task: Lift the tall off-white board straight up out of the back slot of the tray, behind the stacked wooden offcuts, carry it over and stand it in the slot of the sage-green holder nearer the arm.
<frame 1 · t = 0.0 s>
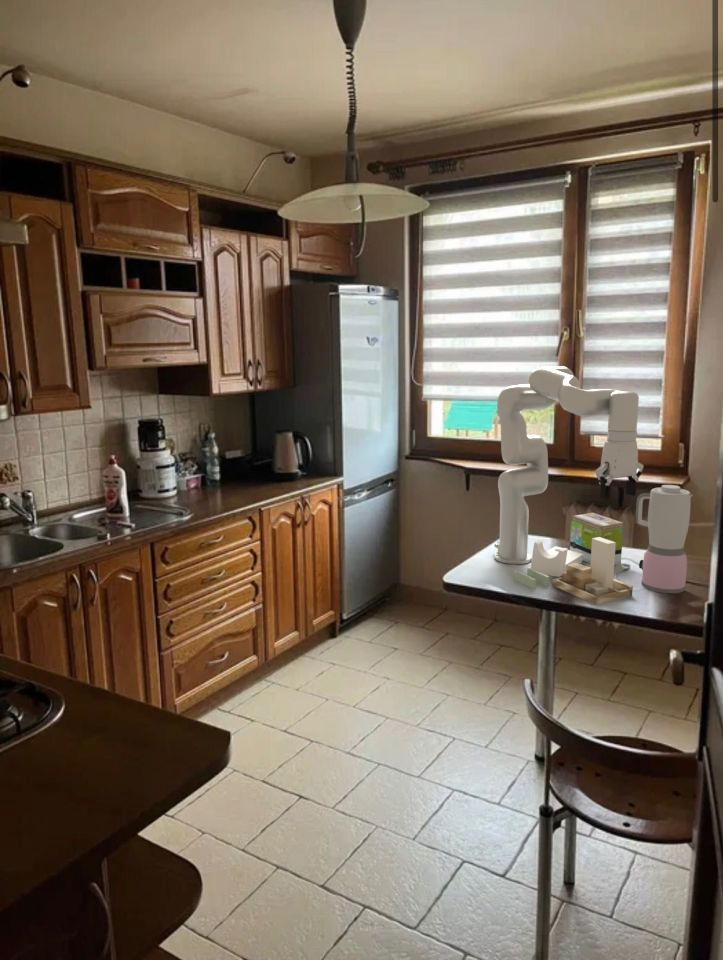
hand: (617, 496, 200), 31 cm above the table, tool pointing down, fingers open, 9 cm apart
offcut b: (578, 576, 213), point 5 cm above the table, touching offcut a
white saddle block: (555, 571, 234), on the table
holder: (531, 586, 220), on the table
tray: (591, 594, 212), on the table
offcut c: (596, 597, 206), point 1 cm above the table, touching tray
tea box: (594, 560, 244), on the table
tall board: (600, 588, 214), point 1 cm above the table, touching tray
offcut a: (578, 588, 214), point 1 cm above the table, touching offcut b, tray
blender: (657, 589, 216), on the table
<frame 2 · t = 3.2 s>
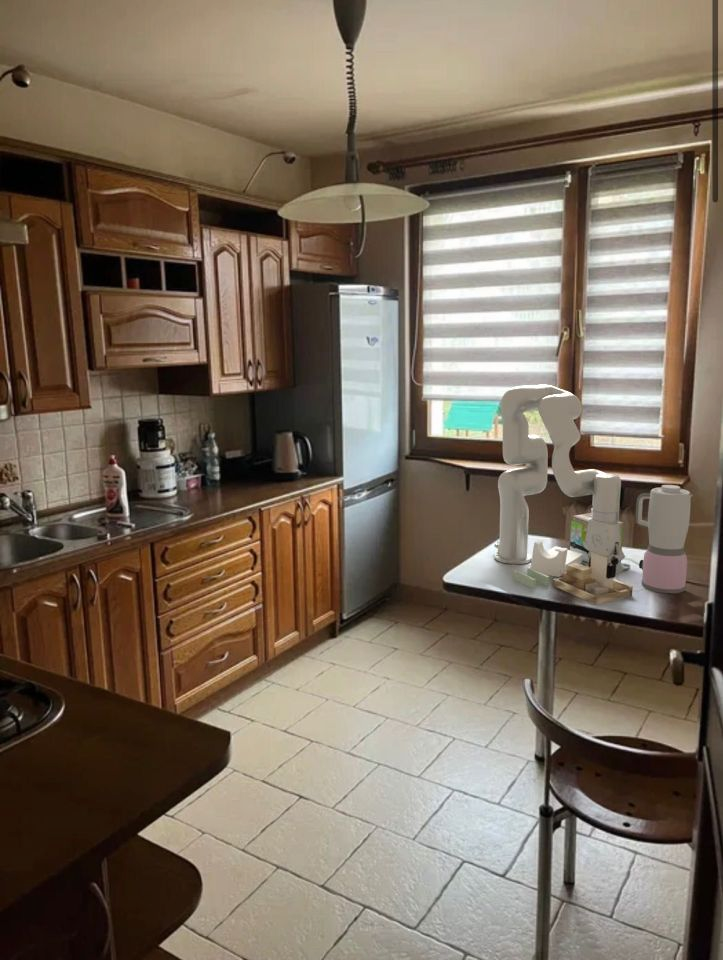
hand: (601, 573, 213), 6 cm above the table, tool pointing down, fingers closed on tall board, 6 cm apart
tall board: (600, 588, 214), point 1 cm above the table, touching gripper, tray
everything else where it was.
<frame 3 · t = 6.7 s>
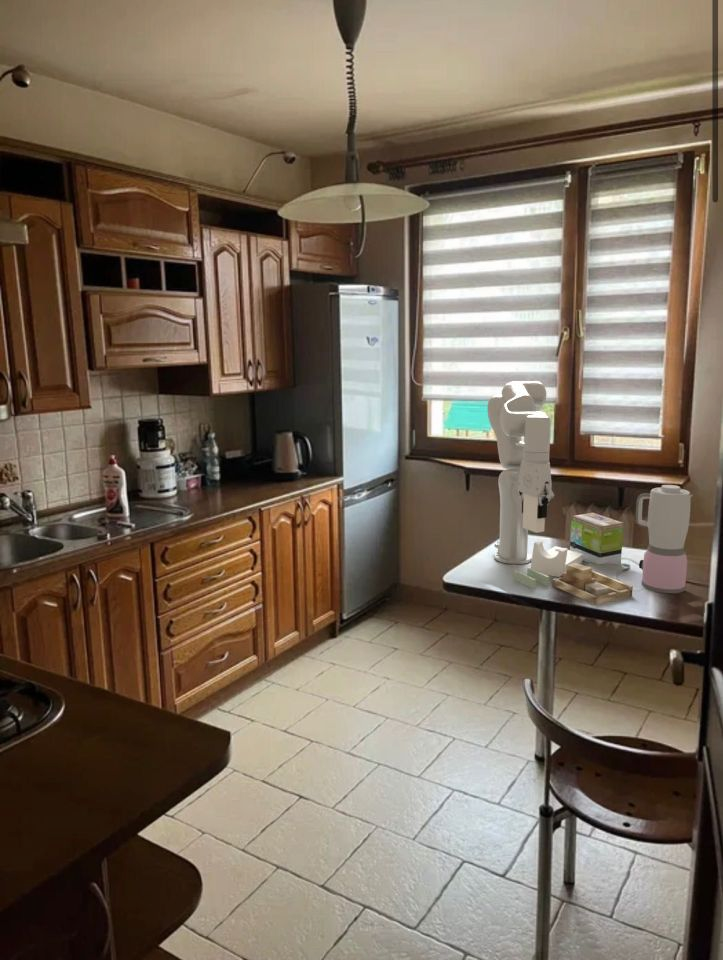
hand: (534, 514, 215), 23 cm above the table, tool pointing down, fingers closed on tall board, 6 cm apart
tall board: (533, 529, 216), point 18 cm above the table, touching gripper
everything else where it was.
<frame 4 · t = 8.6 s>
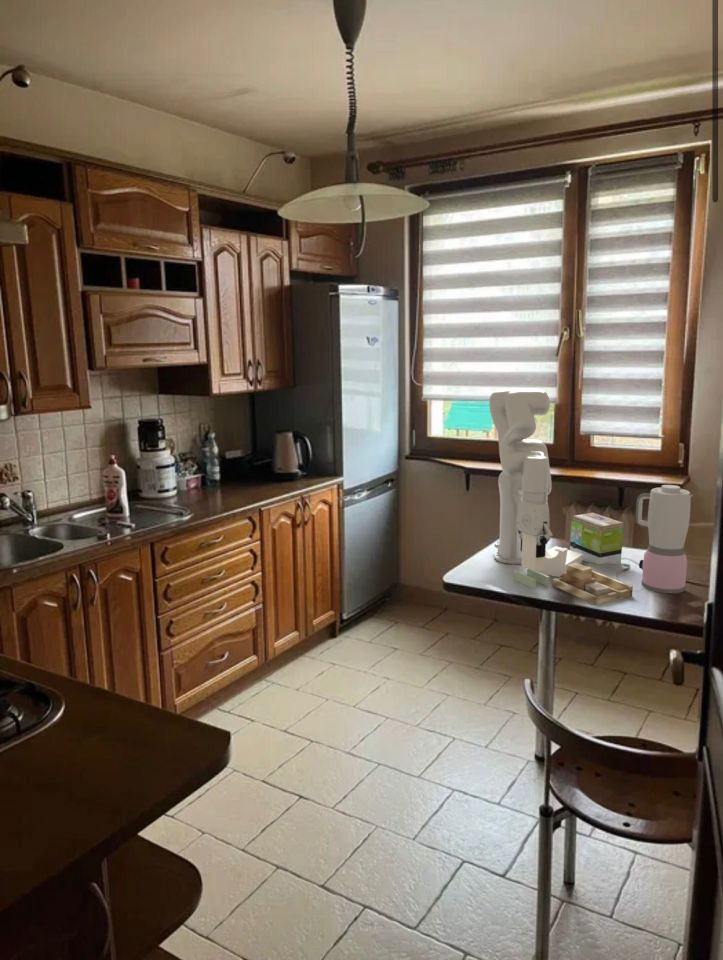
hand: (532, 553, 217), 11 cm above the table, tool pointing down, fingers closed on tall board, 6 cm apart
tall board: (532, 568, 218), point 6 cm above the table, touching gripper
everything else where it was.
when the fingers open (7 cm above the table, at t = 10.3 s): tall board drops 1 cm, resting on holder.
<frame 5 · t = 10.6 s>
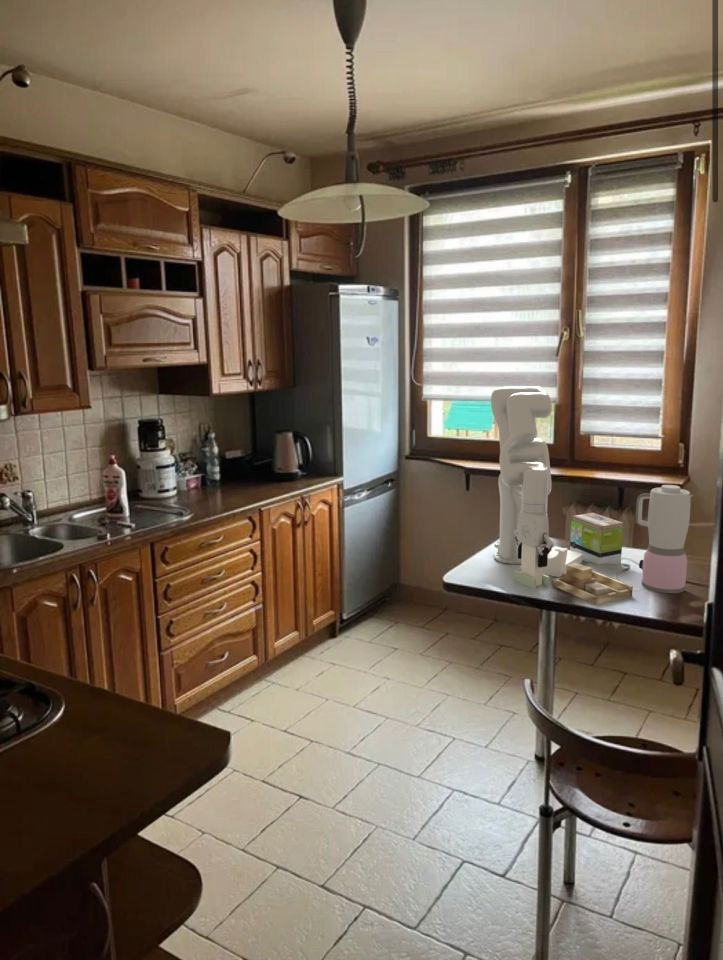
hand: (532, 562, 218), 8 cm above the table, tool pointing down, fingers open, 9 cm apart
tall board: (531, 582, 220), point 1 cm above the table, touching holder
everything else where it was.
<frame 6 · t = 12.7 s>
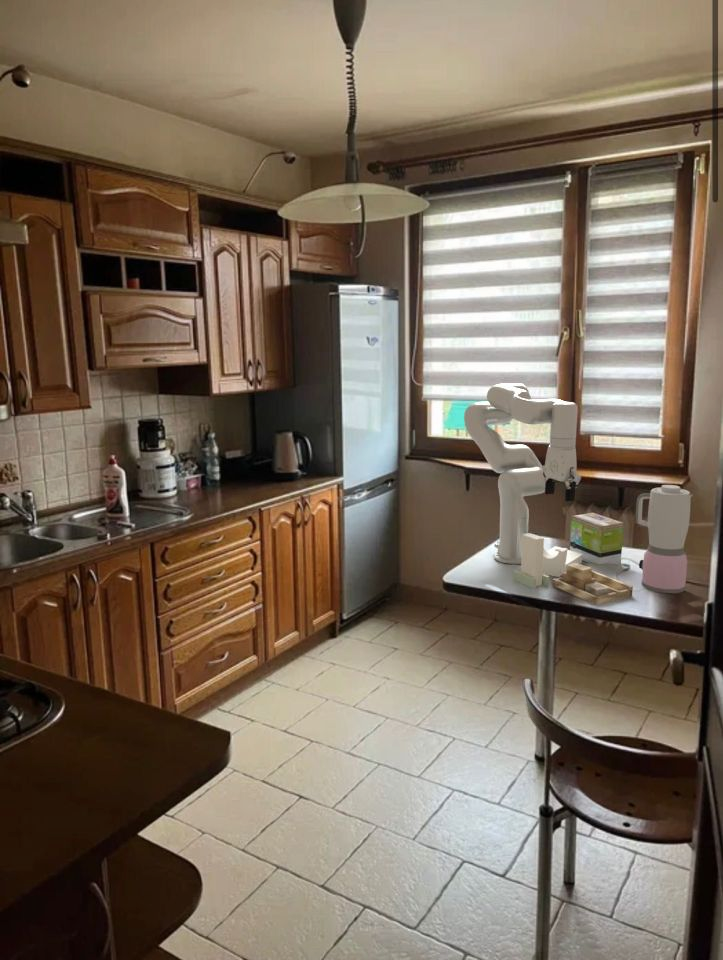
hand: (559, 497, 220), 27 cm above the table, tool pointing down, fingers open, 9 cm apart
nothing on the table moved.
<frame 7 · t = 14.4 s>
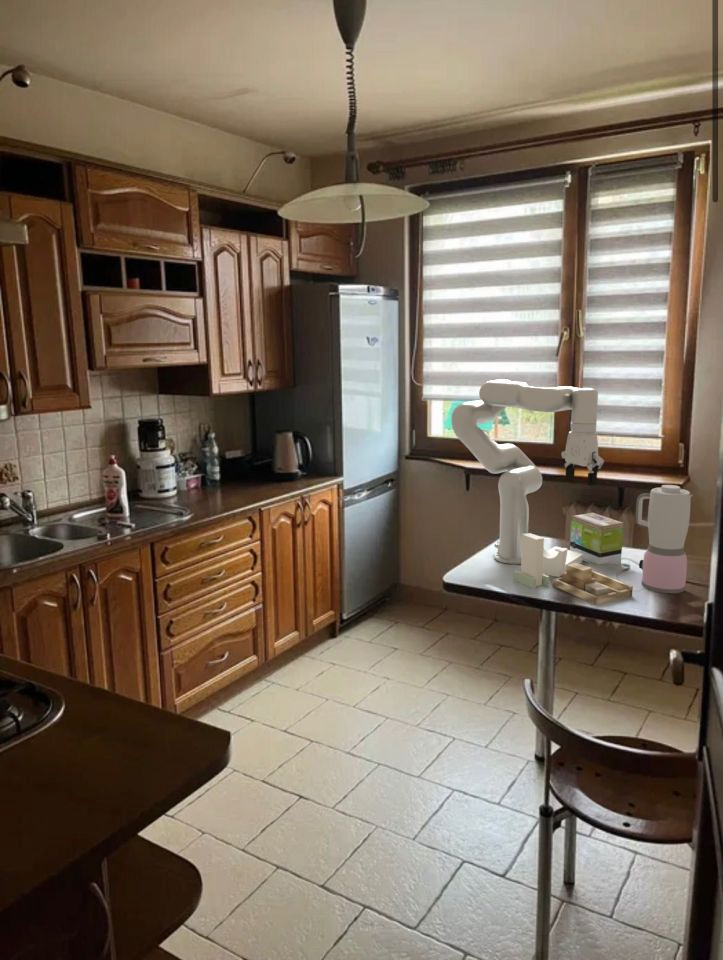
hand: (580, 482, 224), 30 cm above the table, tool pointing down, fingers open, 9 cm apart
nothing on the table moved.
at the end: tall board 0.1 cm off-centre on the holder, point 1.0 cm above the holder's base; tall board tilted 0°; offcut b moved 0.1 cm from its start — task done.
